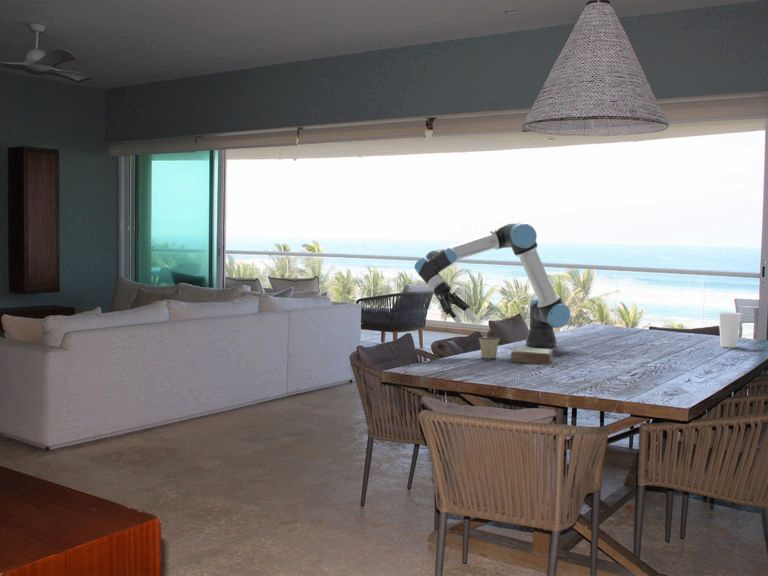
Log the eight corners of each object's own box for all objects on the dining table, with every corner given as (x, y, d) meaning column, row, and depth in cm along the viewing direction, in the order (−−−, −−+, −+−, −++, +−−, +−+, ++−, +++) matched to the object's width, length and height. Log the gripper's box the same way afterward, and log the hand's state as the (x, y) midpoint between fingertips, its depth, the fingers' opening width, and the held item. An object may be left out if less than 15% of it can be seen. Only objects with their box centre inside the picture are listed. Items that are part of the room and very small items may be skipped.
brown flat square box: (516, 356, 353) (516, 347, 353) (552, 358, 348) (553, 348, 348) (511, 361, 338) (511, 351, 337) (549, 363, 333) (549, 353, 333)
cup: (712, 346, 401) (714, 312, 400) (722, 345, 408) (723, 311, 407) (735, 348, 392) (736, 314, 392) (743, 347, 399) (745, 313, 398)
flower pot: (474, 356, 352) (474, 337, 351) (493, 356, 354) (494, 337, 354) (483, 359, 343) (484, 340, 342) (503, 359, 346) (503, 339, 345)
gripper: (447, 291, 373) (475, 325, 366) (419, 293, 353) (448, 329, 345) (457, 280, 370) (485, 314, 362) (430, 281, 349) (459, 318, 342)
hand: (467, 321), depth 354 cm, fingers open, 13 cm apart
